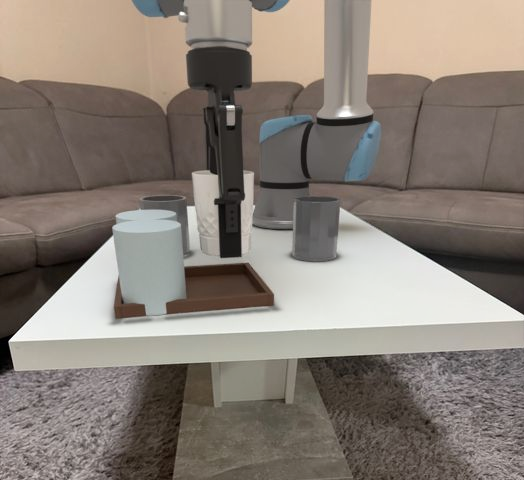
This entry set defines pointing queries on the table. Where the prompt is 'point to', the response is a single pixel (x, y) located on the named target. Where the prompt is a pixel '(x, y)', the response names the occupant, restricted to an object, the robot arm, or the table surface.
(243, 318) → the table surface
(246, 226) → the white cup
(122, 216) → the blue round block
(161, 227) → the pale blue cylinder
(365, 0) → the robot arm
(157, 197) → the grey cup
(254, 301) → the tray
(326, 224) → the grey cup
